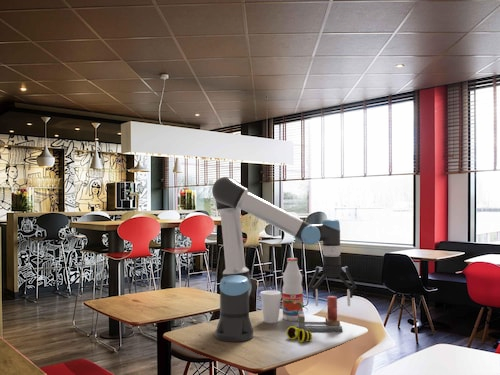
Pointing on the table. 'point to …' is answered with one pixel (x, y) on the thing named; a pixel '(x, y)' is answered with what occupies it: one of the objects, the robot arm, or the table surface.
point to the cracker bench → (315, 325)
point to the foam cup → (270, 305)
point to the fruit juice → (292, 291)
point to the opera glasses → (299, 334)
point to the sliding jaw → (332, 312)
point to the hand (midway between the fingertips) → (332, 305)
